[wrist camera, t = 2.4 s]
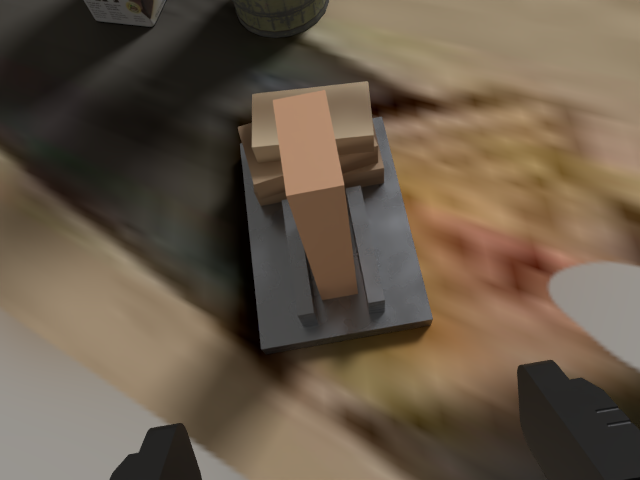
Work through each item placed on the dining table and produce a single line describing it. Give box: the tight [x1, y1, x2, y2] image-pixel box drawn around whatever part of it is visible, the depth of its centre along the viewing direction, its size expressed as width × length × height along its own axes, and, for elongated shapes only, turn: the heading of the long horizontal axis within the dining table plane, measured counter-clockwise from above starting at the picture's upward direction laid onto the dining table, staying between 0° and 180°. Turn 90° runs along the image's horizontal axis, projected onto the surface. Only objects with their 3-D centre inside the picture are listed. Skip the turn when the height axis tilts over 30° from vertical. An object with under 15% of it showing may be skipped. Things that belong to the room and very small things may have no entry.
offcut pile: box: [238, 81, 384, 206], centre depth 35 cm, size 6×9×6 cm, turn 99°
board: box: [273, 90, 358, 300], centre depth 28 cm, size 5×2×14 cm, turn 9°
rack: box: [240, 117, 433, 354], centre depth 35 cm, size 16×11×4 cm
